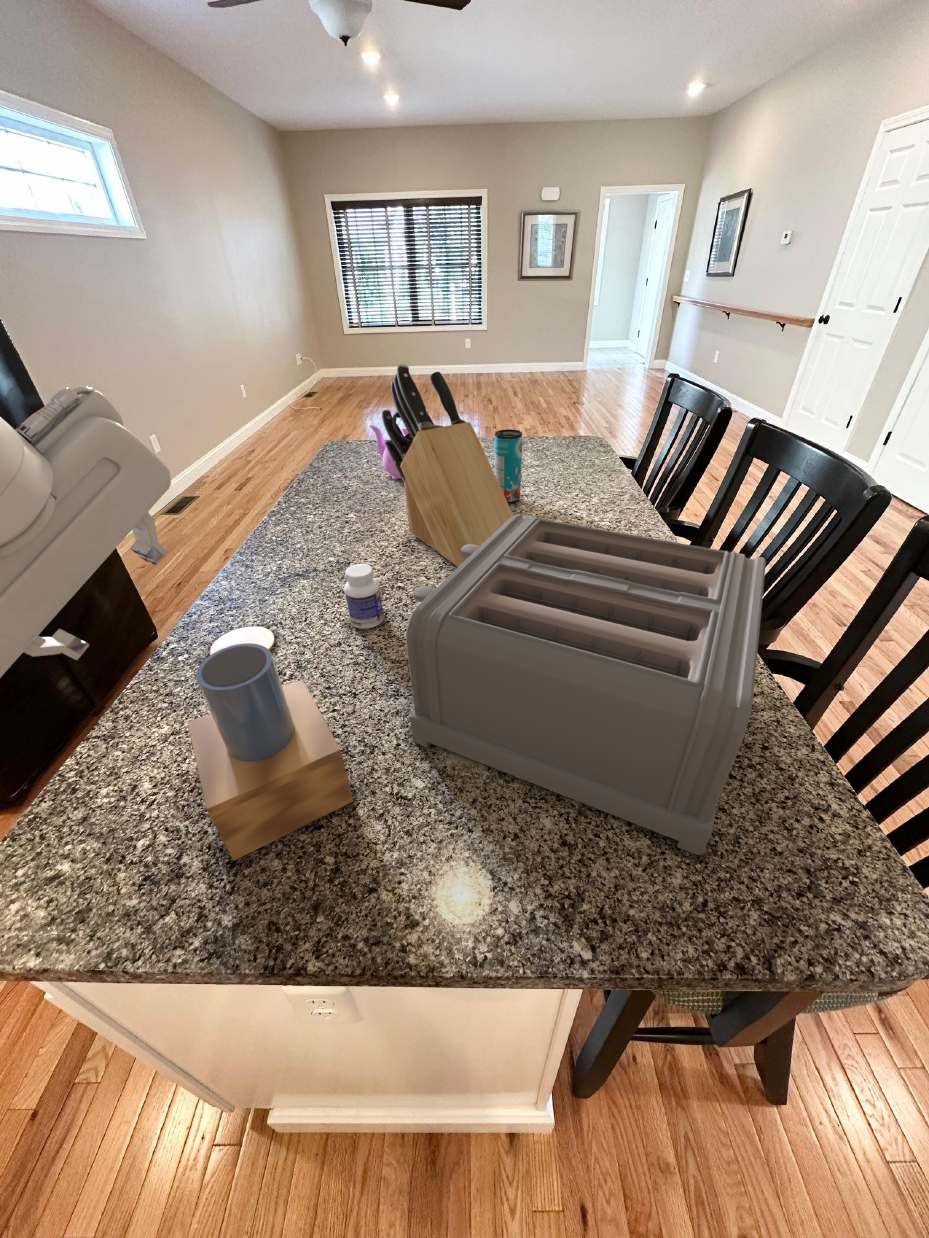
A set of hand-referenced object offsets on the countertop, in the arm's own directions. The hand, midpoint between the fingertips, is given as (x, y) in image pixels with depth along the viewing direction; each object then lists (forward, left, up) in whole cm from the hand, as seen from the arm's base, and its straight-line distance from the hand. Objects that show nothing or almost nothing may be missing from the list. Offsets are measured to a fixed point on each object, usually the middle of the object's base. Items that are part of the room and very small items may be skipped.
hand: (119, 601), depth 42 cm
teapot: (+61, +75, -24) cm, 100 cm away
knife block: (+51, +35, -24) cm, 67 cm away
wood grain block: (+6, -5, -24) cm, 25 cm away
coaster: (+8, +23, -24) cm, 34 cm away
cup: (+6, -5, -16) cm, 17 cm away
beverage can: (+72, +46, -24) cm, 89 cm away
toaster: (+41, -11, -24) cm, 49 cm away
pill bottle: (+26, +19, -24) cm, 41 cm away
